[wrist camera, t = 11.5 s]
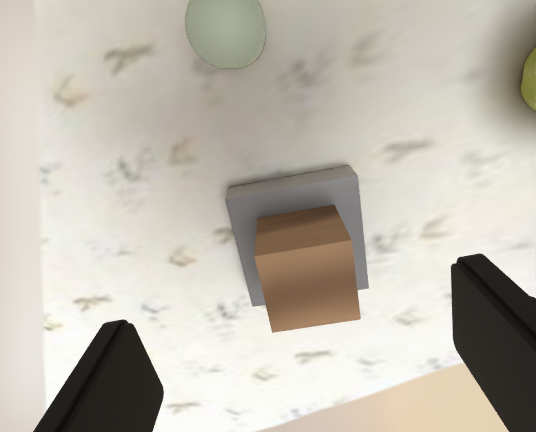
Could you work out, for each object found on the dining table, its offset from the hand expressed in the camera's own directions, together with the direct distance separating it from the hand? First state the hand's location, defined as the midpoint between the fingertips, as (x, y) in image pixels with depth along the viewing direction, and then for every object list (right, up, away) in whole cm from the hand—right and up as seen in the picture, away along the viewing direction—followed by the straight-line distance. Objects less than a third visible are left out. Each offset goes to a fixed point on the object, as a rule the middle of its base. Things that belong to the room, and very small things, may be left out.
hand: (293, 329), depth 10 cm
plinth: (+2, +2, +21) cm, 21 cm away
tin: (-3, +16, +15) cm, 22 cm away
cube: (+2, +1, +18) cm, 18 cm away
